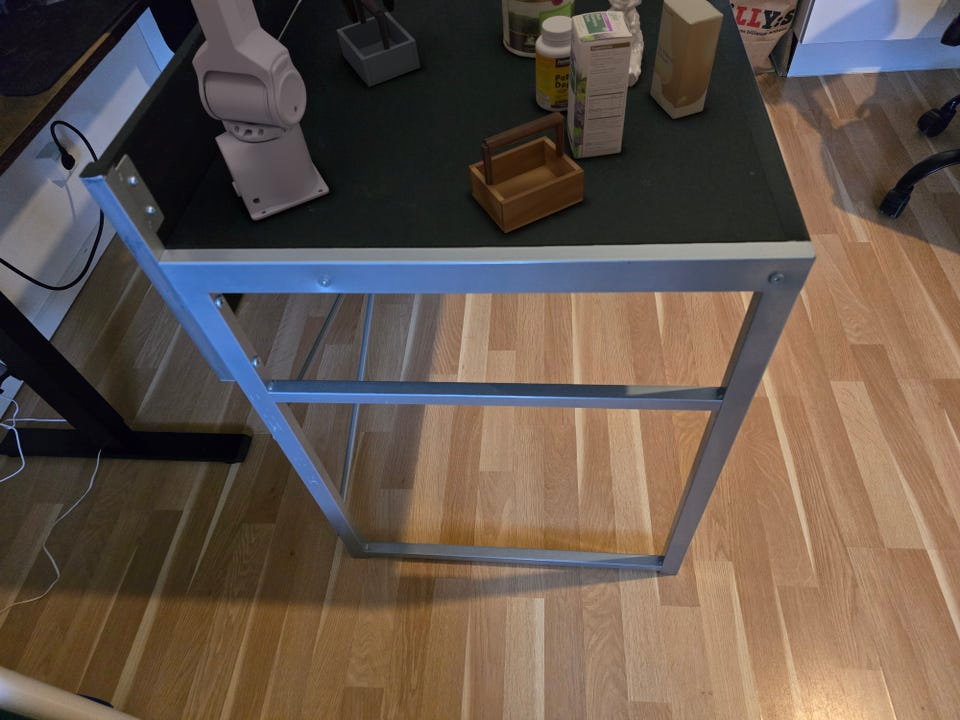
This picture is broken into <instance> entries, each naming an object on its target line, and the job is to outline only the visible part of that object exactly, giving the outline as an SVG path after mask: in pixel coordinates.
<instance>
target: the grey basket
mask: <svg viewBox="0 0 960 720" xmlns="http://www.w3.org/2000/svg"><path fill="white" fill-rule="evenodd" d="M354 4H355V8H356V12H357V15H358V20H359V21H358V23H355V24H353V23H352V24H349V25H346V26H344V27H340V28H338V29H336V34H337V37H338V41H339V44H340V45H339V46H340V48H341V52H342V56H343V57H344V59H345V60H346V62H348V63H349V64H350V66H351V67H352V69H353V70H354V71H355V72H356V74H357V75H358V76H359V77H360V78H361V80H363V82H364V83H365V84H366V86H367V87H368V88H370V87H373V86H375V85H378V84H380V83H383V82H386V81H388V80H392V79H394V78H396V77H399V76H401V75H404V74H407V73H410V72H413V71H415V70H418V69H420V68H421V63H420V58H419V52H418V47H417V42H416V39H415V38H414V37H413V36H412V35H411V34H410V33H409V32H408V31H407V30H406V29H405V28H404V27H403V26H402V25H401V24H400V23H399V22H398V21H397V20H396V19H395V18H394V17H393V16H392V15H391V14H390V12H389V11H385V10H384V9H382V7H380V5H378V4H377V3H376V1H374V0H354ZM364 8H365V9H366V11H368V12H369V14H371V15H372V17H369V18H366V13H365V10H364Z"/></svg>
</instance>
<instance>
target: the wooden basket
mask: <svg viewBox="0 0 960 720" xmlns="http://www.w3.org/2000/svg"><path fill="white" fill-rule="evenodd" d="M551 129H554V133H555V136H554V137H555V138H554V139H555V143H554V142H553V141H552V140H551V139H550V138H549V137H547V135H544V136H542V137H538V138H537V139H534V140H531V141H529V142H526V143H524V144H521V145H518V146H516V147H514V148H511V149H508V150H506V151H502V152H500V153H499V154H496V155H493V156H492V153H493V152H495V151H497V150H500V149H503V148H505V147H508V146H511V145H513V144H516V143H518V142H521V141H523V140H525V139H528V138H531V137H533V136H536V135H538V134H541V133H544V132H547V131H548V130H551ZM481 155H482V160H481V161H478V162H476V163H473V164H470V165H468V175H469V182H470V183H469V184H470V191H471V196H472V197H473V198H474V199H475V201H476V202H477V203H478V204H479V205H480V206H481V207H482V209H483V210H484V211H485V212H486V213H487V215H488V216H489V217H490V218H491V219H492V220H493V222H495V224H496V225H497V226H498V227H499V229H500V230H501V231H502V232H503V233H504V234H508V233H510V232H512V231H514V230H517V229H519V228H522V227H524V226H526V225H528V224H531V223H533V222H535V221H538V220H540V219H542V218H543V219H544V218H545V217H548V216H550V215H552V214H555V213H557V212H559V211H561V210H564V209H566V208H568V207H569V208H570V207H572V206H573V205H575V204H578V203H581V202H582V201H584V183H585V182H584V181H585V180H584V178H585V171H584V170H583V168H581V167H580V166H579V165H578V164H577V163H576V162H575V161H574V160H573V159H572V158H570V157H569V155H567V154H566V153H565V116H564V114H562V113H560V112H552V113H549V114H546V115H544V116H541V117H538V118H537V119H534V120H531V121H529V122H526V123H524V124H521V125H518V126H516V127H513V128H510V129H508V130H506V131H503V132H500V133H498V134H495V135H493V136H490V137H487V138H484V139H483V141H482V143H481Z"/></svg>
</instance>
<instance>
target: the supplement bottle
mask: <svg viewBox="0 0 960 720" xmlns="http://www.w3.org/2000/svg"><path fill="white" fill-rule="evenodd" d="M571 24H572V18H570V17H566V16H554V17H550V18H548V19H546V20H545V21H544V22H543V23H542V33H541V34H542V35H541V36H540V37H539V38H538V39H537V41H536V47H535V48H536V58H535V98H536V99H535V101H536V103H537V105H538V106H539V107H540V108H541V109H543V110H544V111H545V110H546V111H547V112H552V113H554V112H559V113H560V112H566V111H568V93H569V69H570V49H571Z"/></svg>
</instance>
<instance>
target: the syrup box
mask: <svg viewBox="0 0 960 720" xmlns="http://www.w3.org/2000/svg"><path fill="white" fill-rule="evenodd" d="M632 41H633V36H632V34H631V32H630V29H629V26H628V23H627V21H626V19H625V17H624V14H623V12H621V11H607V10H606V11H595V12H588V13H587V12H586V13H581V14H579V15H574V16H573V17H572V24H571V49H570V69H569V93H568V110H567V127H566V128H567V130H566V131H567V136H568V137H567V138H568V141H569V145H570V149H571V152H572V156H573V158H574V159H584V158H591V157H598V156H606V155H607V156H608V155H613V154H620V153H621V151H622V142H623V134H624V123H625V115H626V108H627V107H626V106H627V95H628V87H629V86H628V79H629V70H630V60H631V50H632Z"/></svg>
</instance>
